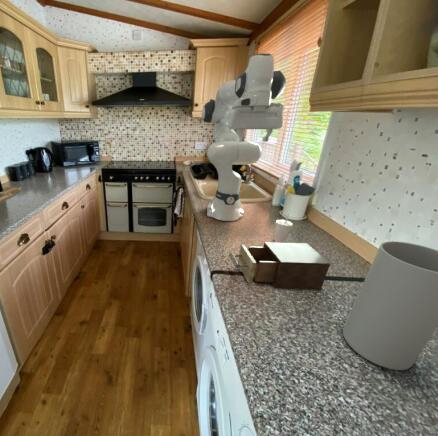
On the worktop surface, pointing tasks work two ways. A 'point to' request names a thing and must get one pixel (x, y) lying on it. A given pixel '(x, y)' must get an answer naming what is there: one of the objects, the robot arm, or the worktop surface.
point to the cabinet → (298, 265)
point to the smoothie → (282, 230)
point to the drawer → (256, 263)
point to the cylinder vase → (395, 306)
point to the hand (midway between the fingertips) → (253, 141)
